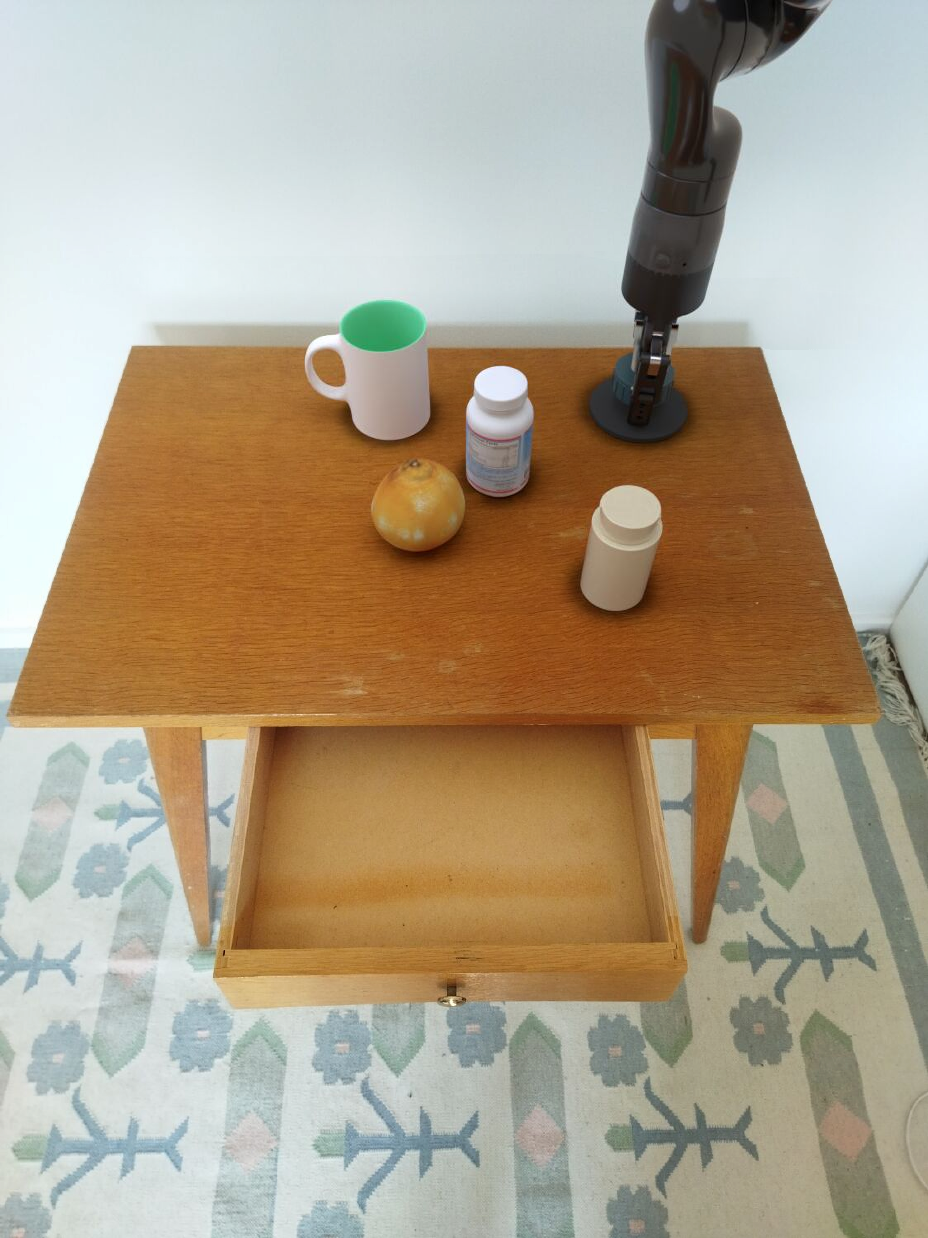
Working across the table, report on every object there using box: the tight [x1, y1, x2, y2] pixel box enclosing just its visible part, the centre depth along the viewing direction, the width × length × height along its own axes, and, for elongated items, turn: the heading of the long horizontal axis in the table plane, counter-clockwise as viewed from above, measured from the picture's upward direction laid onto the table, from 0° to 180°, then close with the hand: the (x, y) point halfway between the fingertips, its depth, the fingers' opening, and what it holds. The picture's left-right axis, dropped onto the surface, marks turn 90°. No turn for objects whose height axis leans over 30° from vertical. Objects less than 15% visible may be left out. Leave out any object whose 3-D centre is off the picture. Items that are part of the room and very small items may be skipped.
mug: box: [304, 299, 431, 441], centre depth 80 cm, size 12×8×10 cm
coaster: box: [588, 377, 688, 444], centre depth 85 cm, size 10×10×1 cm
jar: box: [579, 484, 663, 612], centre depth 68 cm, size 6×6×10 cm
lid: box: [611, 351, 676, 407], centre depth 82 cm, size 6×6×2 cm
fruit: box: [370, 457, 466, 552], centre depth 73 cm, size 8×8×8 cm
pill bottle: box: [465, 365, 535, 498], centre depth 75 cm, size 6×6×11 cm
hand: (638, 401), depth 84 cm, fingers closed on lid, 5 cm apart
